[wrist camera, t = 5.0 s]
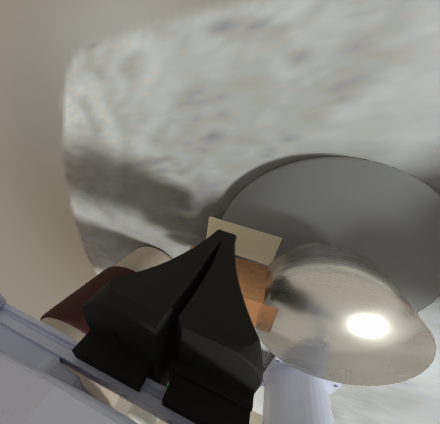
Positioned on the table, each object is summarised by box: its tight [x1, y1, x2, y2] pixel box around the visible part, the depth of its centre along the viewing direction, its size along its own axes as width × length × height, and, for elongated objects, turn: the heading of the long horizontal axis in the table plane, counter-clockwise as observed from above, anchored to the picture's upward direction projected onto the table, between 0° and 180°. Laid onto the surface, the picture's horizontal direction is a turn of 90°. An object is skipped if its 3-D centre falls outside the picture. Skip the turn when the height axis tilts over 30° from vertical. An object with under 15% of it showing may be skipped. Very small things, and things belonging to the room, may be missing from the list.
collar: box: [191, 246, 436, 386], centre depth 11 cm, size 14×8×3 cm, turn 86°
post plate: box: [206, 157, 440, 312], centre depth 13 cm, size 17×18×6 cm
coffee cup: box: [40, 247, 171, 408], centre depth 16 cm, size 10×10×15 cm
